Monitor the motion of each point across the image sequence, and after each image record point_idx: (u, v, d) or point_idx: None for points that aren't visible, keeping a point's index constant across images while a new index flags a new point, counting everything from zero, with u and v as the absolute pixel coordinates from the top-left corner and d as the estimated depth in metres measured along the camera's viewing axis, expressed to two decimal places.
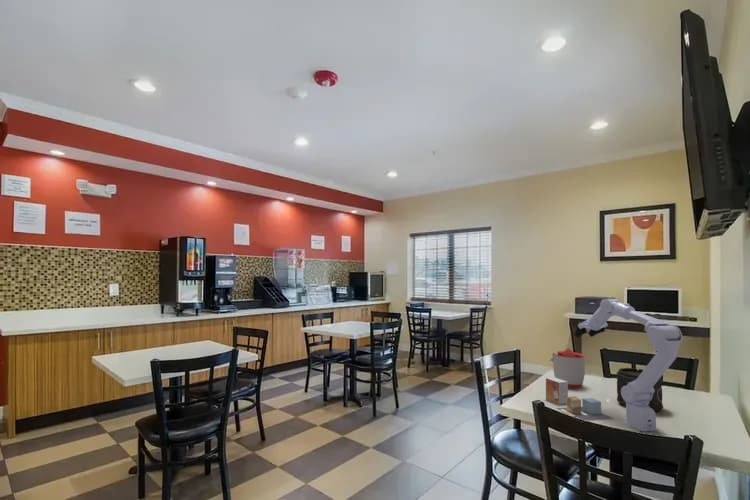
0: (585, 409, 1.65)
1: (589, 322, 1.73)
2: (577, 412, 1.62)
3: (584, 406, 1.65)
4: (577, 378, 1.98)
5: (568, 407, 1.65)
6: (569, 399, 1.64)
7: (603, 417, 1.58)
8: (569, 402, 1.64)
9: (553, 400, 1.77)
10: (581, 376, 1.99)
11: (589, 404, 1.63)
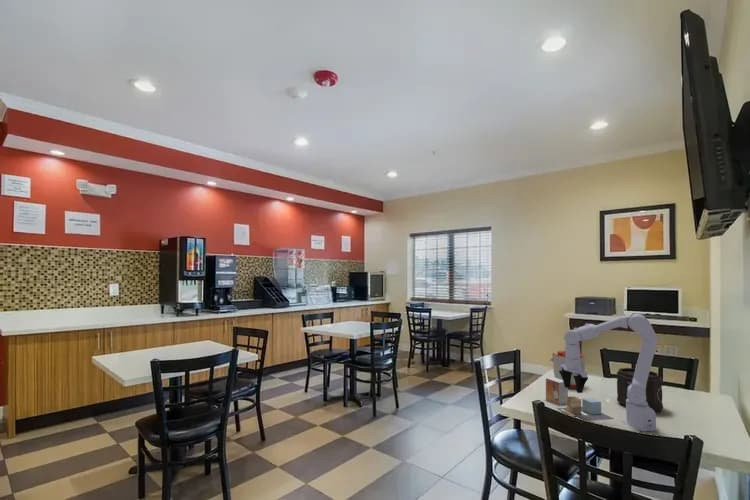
0: (585, 409, 1.65)
1: (576, 367, 1.62)
2: (577, 412, 1.62)
3: (584, 406, 1.65)
4: None
5: (568, 407, 1.65)
6: (569, 399, 1.64)
7: (603, 417, 1.58)
8: (569, 402, 1.64)
9: (553, 400, 1.77)
10: None
11: (589, 404, 1.63)
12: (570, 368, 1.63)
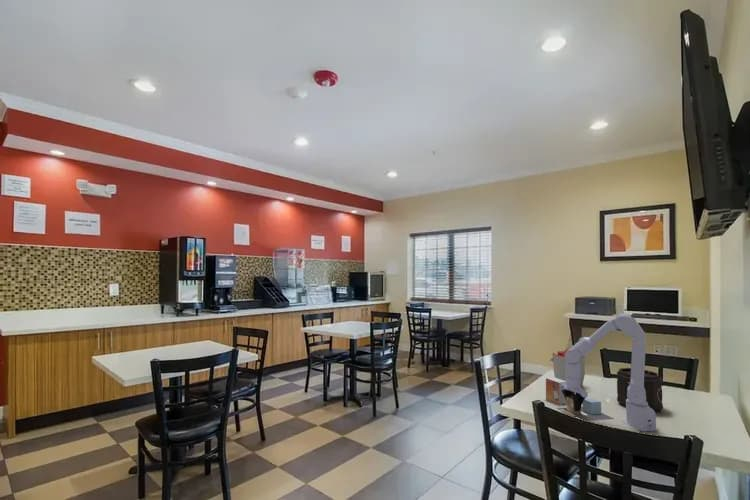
0: (585, 409, 1.65)
1: (577, 387, 1.62)
2: (577, 412, 1.62)
3: (584, 406, 1.65)
4: None
5: (568, 407, 1.65)
6: (569, 399, 1.64)
7: (603, 417, 1.58)
8: (569, 402, 1.64)
9: (553, 400, 1.77)
10: (581, 376, 1.99)
11: (589, 404, 1.63)
12: (570, 387, 1.63)
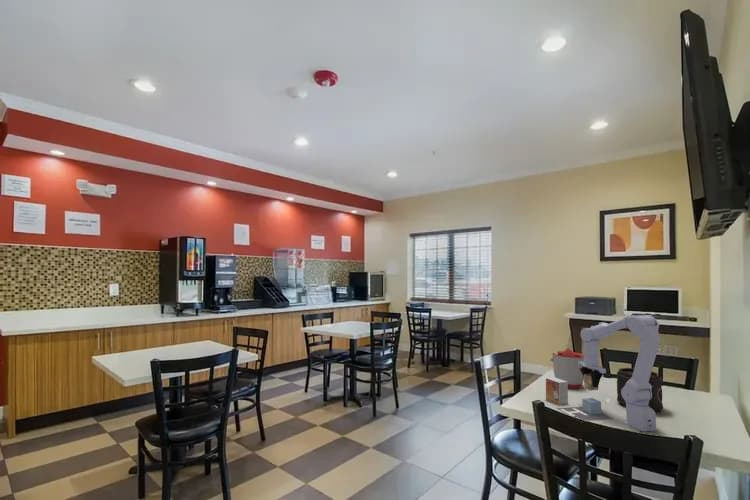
0: (585, 409, 1.65)
1: (595, 364, 1.69)
2: (594, 388, 1.69)
3: (584, 406, 1.65)
4: (577, 378, 1.98)
5: (586, 384, 1.72)
6: (587, 376, 1.71)
7: (603, 417, 1.58)
8: (587, 379, 1.71)
9: (553, 400, 1.77)
10: (581, 376, 1.99)
11: (589, 404, 1.63)
12: (589, 364, 1.70)
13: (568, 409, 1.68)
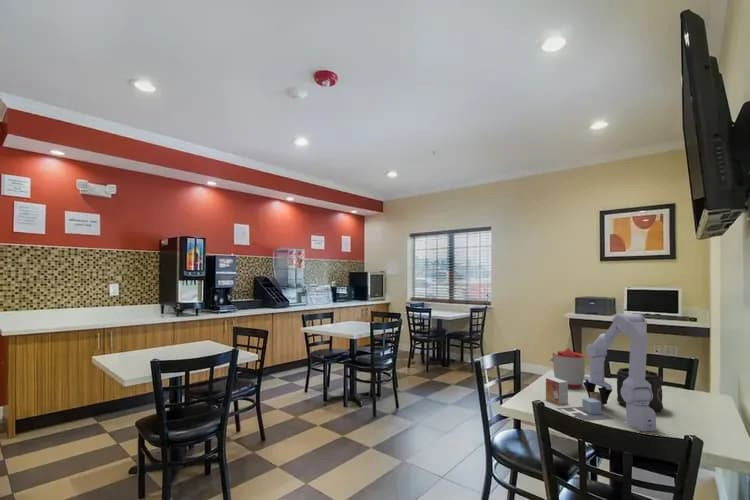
0: (585, 409, 1.65)
1: (601, 380, 1.71)
2: None
3: (584, 406, 1.65)
4: (577, 378, 1.98)
5: None
6: (593, 394, 1.73)
7: (603, 417, 1.58)
8: (593, 397, 1.73)
9: (553, 400, 1.77)
10: (581, 376, 1.99)
11: (589, 404, 1.63)
12: (595, 380, 1.72)
13: (568, 409, 1.68)
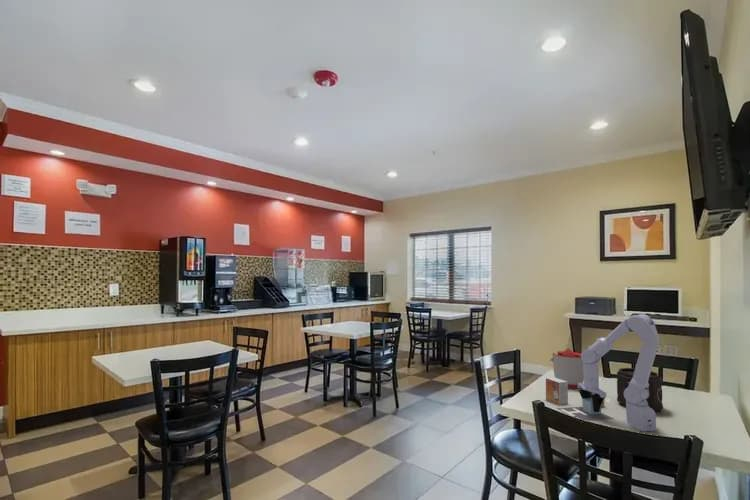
0: (585, 409, 1.65)
1: (595, 387, 1.62)
2: None
3: (584, 406, 1.65)
4: (578, 378, 1.98)
5: None
6: (593, 394, 1.73)
7: (603, 417, 1.58)
8: None
9: (553, 400, 1.77)
10: (581, 376, 1.99)
11: (589, 404, 1.63)
12: (589, 388, 1.63)
13: (568, 409, 1.68)
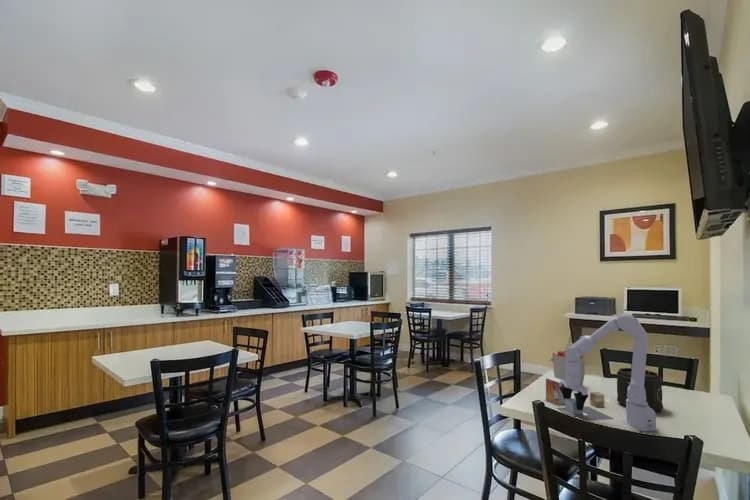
0: (567, 409, 1.64)
1: (577, 385, 1.62)
2: (600, 406, 1.71)
3: (567, 406, 1.65)
4: None
5: (592, 402, 1.73)
6: (593, 394, 1.73)
7: (603, 417, 1.58)
8: (593, 397, 1.73)
9: (553, 400, 1.77)
10: (581, 376, 1.99)
11: (571, 404, 1.62)
12: (570, 385, 1.63)
13: None
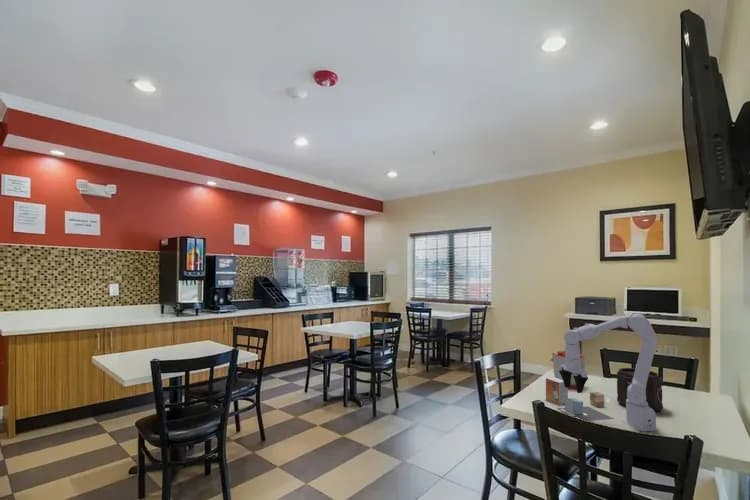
0: (567, 409, 1.64)
1: (576, 367, 1.62)
2: (600, 406, 1.71)
3: (567, 406, 1.65)
4: None
5: (592, 402, 1.73)
6: (593, 394, 1.73)
7: (603, 417, 1.58)
8: (593, 397, 1.73)
9: (553, 400, 1.77)
10: None
11: (571, 404, 1.62)
12: (570, 368, 1.63)
13: None
